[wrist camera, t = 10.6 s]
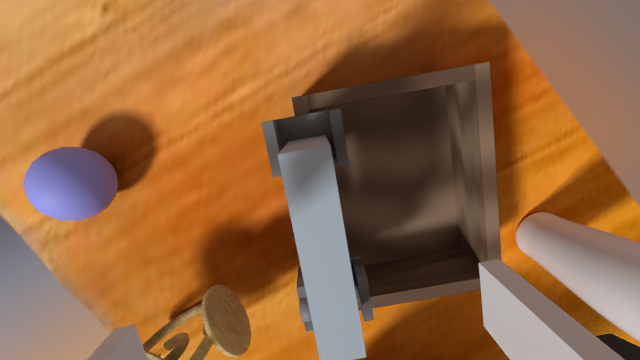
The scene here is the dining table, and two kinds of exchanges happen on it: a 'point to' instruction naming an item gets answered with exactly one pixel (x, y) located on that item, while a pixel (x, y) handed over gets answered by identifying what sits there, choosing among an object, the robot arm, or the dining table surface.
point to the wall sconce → (209, 327)
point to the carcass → (407, 180)
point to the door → (322, 248)
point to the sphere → (70, 183)
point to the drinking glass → (588, 265)
